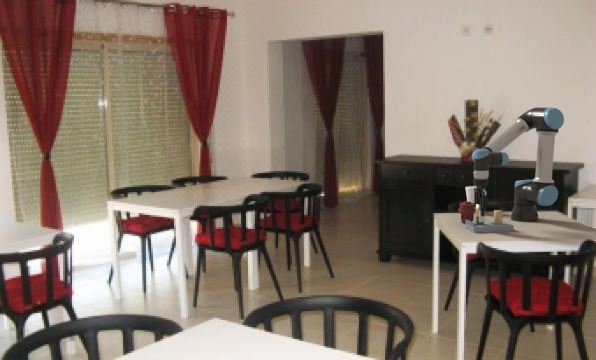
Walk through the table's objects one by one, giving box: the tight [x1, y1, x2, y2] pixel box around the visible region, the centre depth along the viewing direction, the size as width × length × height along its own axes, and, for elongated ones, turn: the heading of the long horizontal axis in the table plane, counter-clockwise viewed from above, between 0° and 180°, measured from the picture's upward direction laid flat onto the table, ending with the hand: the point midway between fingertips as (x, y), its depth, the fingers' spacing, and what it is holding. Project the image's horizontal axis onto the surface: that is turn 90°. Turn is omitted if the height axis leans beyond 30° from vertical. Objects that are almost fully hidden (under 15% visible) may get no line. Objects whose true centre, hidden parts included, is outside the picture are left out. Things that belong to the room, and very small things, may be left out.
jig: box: [464, 209, 514, 234], centre depth 338 cm, size 22×12×10 cm, turn 96°
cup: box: [465, 185, 476, 215], centre depth 386 cm, size 12×12×16 cm
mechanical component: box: [457, 200, 476, 224], centre depth 356 cm, size 12×10×10 cm
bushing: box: [475, 204, 484, 224], centre depth 337 cm, size 4×4×10 cm
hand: (480, 221), depth 337 cm, fingers closed on bushing, 4 cm apart
